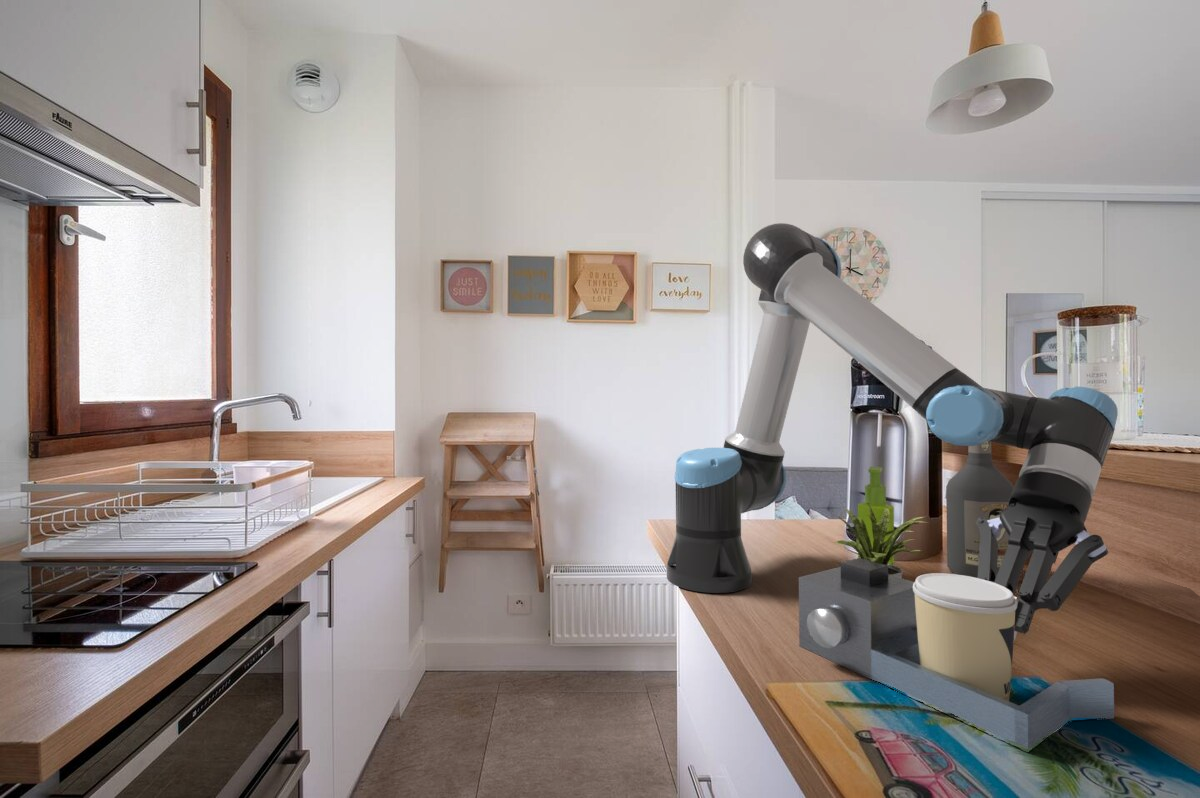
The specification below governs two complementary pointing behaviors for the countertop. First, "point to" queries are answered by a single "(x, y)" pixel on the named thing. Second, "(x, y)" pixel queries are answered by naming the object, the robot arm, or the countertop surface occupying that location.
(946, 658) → the coffee cup
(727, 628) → the countertop surface
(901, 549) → the house plant
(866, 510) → the soap dispenser
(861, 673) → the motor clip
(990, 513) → the liquor
